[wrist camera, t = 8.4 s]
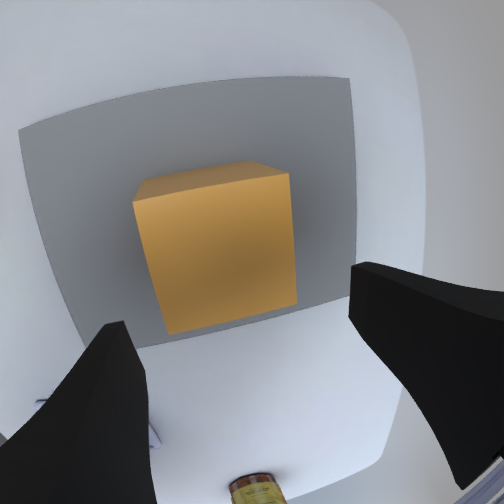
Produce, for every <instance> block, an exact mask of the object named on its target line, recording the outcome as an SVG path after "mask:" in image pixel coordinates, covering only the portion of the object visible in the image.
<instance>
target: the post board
mask: <svg viewBox="0 0 504 504" xmlns="http://www.w3.org/2000/svg"><path fill="white" fill-rule="evenodd" d="M18 132H19V140H20V146H21V153H22V158H23V164H24V169H25V174H26V179H27V184H28V188H29V193H30V197H31V201H32V205H33V209H34V213H35V216H36V220H37V224H38V227H39V230H40V234H41V237H42V240H43V244H44V247H45V250H46V253H47V256H48V259H49V262H50V264H51V267H52V270H53V273H54V276H55V278H56V281H57V283H58V286H59V289H60V291H61V294H62V296H63V299H64V301H65V303H66V306H67V308H68V310H69V313H70V315H71V317H72V319H73V322H74V324H75V326H76V328H77V330H78V333H79V335H80V337H81V339H82V341H83V343H84V345H85V347H86V348H87V347H88V345H89V344H90V343H91V341H92V340H93V339H94V337H95V336H96V334H97V333H98V332H99V330H100V329H101V328H102V327H103V326H104V324H107V323H112V322H117V321H122V320H124V323H125V325H126V328H127V330H128V333H129V335H130V338H131V340H132V342H133V345H134V347H135V349H137V348H142V347H147V346H152V345H157V344H162V343H167V342H172V341H177V340H182V339H186V338H191V337H196V336H200V335H205V334H209V333H213V332H218V331H222V330H226V329H230V328H234V327H238V326H242V325H246V324H250V323H254V322H258V321H262V320H266V319H270V318H274V317H277V316H281V315H285V314H288V313H292V312H296V311H299V310H303V309H306V308H310V307H313V306H316V305H320V304H323V303H327V302H330V301H333V300H337V299H340V298H343V297H346V296H350V280H351V266H352V265H355V262H356V222H357V198H356V159H355V139H354V124H353V111H352V99H351V89H350V80H349V78H337V77H262V78H245V79H232V80H221V81H212V82H204V83H196V84H189V85H182V86H175V87H169V88H164V89H158V90H153V91H148V92H143V93H138V94H133V95H129V96H125V97H120V98H116V99H112V100H108V101H104V102H101V103H97V104H93V105H90V106H86V107H83V108H80V109H76V110H73V111H70V112H67V113H64V114H61V115H58V116H55V117H52V118H49V119H46V120H44V121H41V122H38V123H35V124H33V125H30V126H28V127H25V128H23V129H20V130H18ZM244 161H254V162H257V163H260V164H263V165H266V166H269V167H272V168H275V169H278V170H281V171H283V172H286V173H289V182H290V194H291V207H292V221H293V236H294V253H295V271H296V291H297V304H295V305H291V306H287V307H284V308H280V309H276V310H272V311H269V312H265V313H261V314H257V315H253V316H249V317H245V318H241V319H237V320H233V321H229V322H224V323H220V324H216V325H212V326H207V327H203V328H199V329H194V330H189V331H185V332H180V333H176V334H171V335H169V334H168V331H167V328H166V325H165V322H164V319H163V316H162V313H161V309H160V306H159V303H158V300H157V296H156V293H155V289H154V286H153V282H152V279H151V275H150V272H149V268H148V264H147V261H146V257H145V253H144V249H143V245H142V241H141V237H140V233H139V229H138V225H137V221H136V216H135V212H134V207H133V203H132V202H133V200H134V197H135V195H136V193H137V191H138V189H139V187H140V185H141V183H142V181H143V180H146V179H151V178H155V177H160V176H165V175H170V174H175V173H180V172H185V171H190V170H196V169H201V168H207V167H213V166H219V165H225V164H231V163H238V162H244Z"/></svg>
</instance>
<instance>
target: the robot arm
mask: <svg viewBox="0 0 504 504" xmlns="http://www.w3.org/2000/svg"><path fill="white" fill-rule="evenodd" d="M348 317H349V319H350V320H351V322H352V323H353V325H354V327H355V328H356V330H357V331H358V333H359V334H360V336H361V337H362V339H363V340H364V341H365V342H366V343H367V345H368V346H369V347H370V348H371V349H372V350H373V351H374V353H375V354H376V355H377V356H378V357H379V358H380V359H381V360H382V361H383V363H384V364H385V365H386V366H387V367H388V368H389V369H390V370H391V372H392V373H393V374H394V375H395V376H396V377H397V378H398V379H399V381H400V382H401V383H402V384H403V386H404V387H405V388H406V389H407V390H408V392H409V393H410V395H411V396H412V398H413V399H414V401H415V402H416V404H417V405H418V407H419V408H420V410H421V411H422V413H423V415H424V417H425V418H426V420H427V422H428V423H429V425H430V427H431V428H432V430H433V432H434V434H435V436H436V438H437V440H438V442H439V444H440V446H441V448H442V450H443V452H444V454H445V456H446V459H447V461H448V464H449V466H450V468H451V471H452V473H453V476H454V479H455V482H456V484H457V485H458V486H459V487H460V489H461V490H464V489H465V488H466V487H468V486H469V485H470V484H471V483H472V482H474V481H475V480H476V479H477V478H478V477H479V476H480V475H482V474H483V473H484V472H485V471H486V470H487V469H488V468H489V467H490V466H491V465H492V464H493V463H494V462H495V461H496V460H497V459H498V458H499V457H500V456H501V457H502V458H503V460H502V462H500V463H499V464H498V465H497V466H496V467H495V468H494V469H493V470H492V471H491V472H490V473H489V474H488V475H487V476H486V477H485V478H484V479H483V480H481V481H480V482H479V483H478V484H477V485H476V486H475V487H474V488H472V489H471V490H470V491H469V492H468V493H466V494H465V495H464V496H463V497H462V498H460V499H459V500H458V501H456V502H455V503H454V504H486V503H487V502H488V501H489V500H490V499H491V498H492V497H493V496H494V495H495V494H497V493H498V492H499V491H500V489H502V488H503V486H504V292H500V291H489V290H483V289H477V288H471V287H465V286H460V285H455V284H452V283H447V282H443V281H439V280H436V279H432V278H428V277H425V276H421V275H418V274H414V273H411V272H407V271H404V270H400V269H397V268H393V267H390V266H386V265H382V264H378V263H373V262H363V263H359V264H355V265H352V266H351V280H350V300H349V316H348ZM34 406H35V408H36V410H37V412H36V413H35V414H34V415H33V416H32V417H31V418H30V420H29V421H28V422H27V423H26V424H24V425H23V426H22V427H21V428H20V429H19V430H18V431H17V432H16V433H15V434H14V435H13V436H12V437H11V438H10V439H9V440H8V441H7V442H5V443H4V444H3V445H2V446H1V447H0V504H157V501H156V496H155V491H154V486H153V481H152V476H151V468H150V455H149V449H157V448H160V447H161V446H162V444H161V441H160V440H159V438H158V437H157V435H156V434H155V432H154V430H153V429H152V427H151V426H150V424H149V412H148V392H147V383H146V375H145V370H144V367H143V365H142V363H141V361H140V359H139V356H138V354H137V352H136V349H135V347H134V345H133V342H132V340H131V338H130V335H129V333H128V330H127V328H126V325H125V323H124V320H122V321H117V322H112V323H107V324H104V326H103V327H102V328H101V329H100V330H99V332H98V333H97V334H96V336H95V337H94V339H93V340H92V341H91V343H90V344H89V345H88V347H87V348H86V350H85V351H84V352H83V354H82V355H81V357H80V358H79V359H78V361H77V362H76V364H75V365H74V366H73V368H72V369H71V370H70V372H69V373H68V374H67V375H66V377H65V378H64V379H63V381H62V382H61V383H60V385H59V386H58V387H57V388H56V390H55V391H54V392H53V394H52V395H51V396H50V397H49V398H48V400H47V401H41V402H36V403H35V405H34ZM491 504H504V493H503V494H502V495H501V496H500V497H498V498H497V499H496V500H495V501H494V502H492V503H491Z"/></svg>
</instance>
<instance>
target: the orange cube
mask: <svg viewBox="0 0 504 504" xmlns="http://www.w3.org/2000/svg"><path fill="white" fill-rule="evenodd" d="M132 203H133V207H134V212H135V216H136V221H137V225H138V229H139V233H140V237H141V241H142V245H143V249H144V253H145V257H146V261H147V264H148V268H149V272H150V275H151V279H152V282H153V286H154V289H155V293H156V296H157V300H158V303H159V306H160V309H161V313H162V316H163V319H164V322H165V325H166V328H167V331H168V334H169V335H171V334H176V333H180V332H185V331H189V330H194V329H199V328H203V327H207V326H212V325H216V324H220V323H224V322H229V321H233V320H237V319H241V318H245V317H249V316H253V315H257V314H261V313H265V312H269V311H272V310H276V309H280V308H284V307H287V306H291V305H295V304H297V291H296V271H295V253H294V236H293V221H292V207H291V194H290V182H289V173H286V172H283V171H281V170H278V169H275V168H272V167H269V166H266V165H263V164H260V163H257V162H254V161H244V162H238V163H231V164H225V165H219V166H213V167H207V168H201V169H196V170H190V171H185V172H180V173H175V174H170V175H165V176H160V177H155V178H151V179H146V180H143V181H142V183H141V185H140V187H139V189H138V191H137V193H136V195H135V197H134V200H133V202H132Z"/></svg>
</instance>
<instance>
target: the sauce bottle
mask: <svg viewBox="0 0 504 504" xmlns="http://www.w3.org/2000/svg"><path fill="white" fill-rule="evenodd" d="M229 490H230V493H231V496H232V497H231V501H232V504H287V503H286V500H285V498H284V496H283V494H282V491H281V489H280V487H279V485H278V484H277V483H276V481H275V479H274V477H272V476H271V475H266V474H258V475H251V476H246V477H243V478H240V479H239V480H237V481H236V482H234V483H233V484H232V485H231V486H230V488H229Z"/></svg>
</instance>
